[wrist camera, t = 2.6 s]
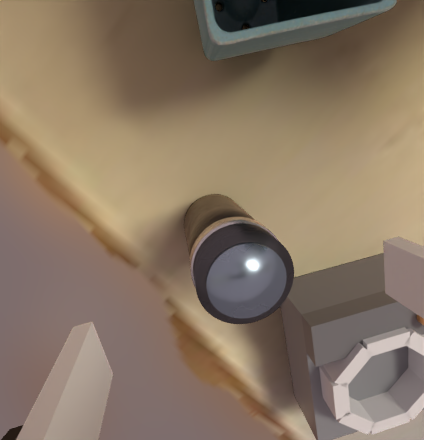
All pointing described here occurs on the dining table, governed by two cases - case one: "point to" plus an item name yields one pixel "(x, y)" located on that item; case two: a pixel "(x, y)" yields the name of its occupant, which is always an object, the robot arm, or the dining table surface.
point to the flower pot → (276, 22)
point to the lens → (235, 261)
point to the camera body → (353, 351)
